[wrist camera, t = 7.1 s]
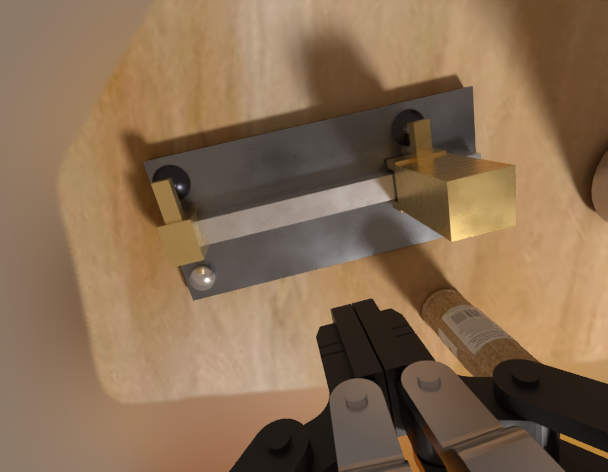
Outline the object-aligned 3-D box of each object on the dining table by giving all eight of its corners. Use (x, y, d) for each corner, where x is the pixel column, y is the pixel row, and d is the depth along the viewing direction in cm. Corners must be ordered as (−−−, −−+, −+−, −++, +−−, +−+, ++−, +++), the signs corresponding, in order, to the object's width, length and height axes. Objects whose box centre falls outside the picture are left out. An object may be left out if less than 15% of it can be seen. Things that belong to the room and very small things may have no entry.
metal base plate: (464, 87, 29) (478, 85, 27) (471, 224, 33) (484, 230, 31) (147, 160, 27) (139, 163, 25) (195, 294, 31) (191, 305, 29)
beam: (467, 106, 28) (491, 104, 25) (471, 181, 30) (493, 188, 27) (153, 179, 27) (141, 186, 24) (180, 253, 29) (171, 267, 26)
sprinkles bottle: (417, 328, 36) (507, 443, 23) (424, 287, 34) (523, 385, 21) (459, 326, 36) (569, 437, 23) (467, 286, 35) (589, 381, 22)
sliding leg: (430, 115, 28) (514, 112, 19) (437, 195, 30) (515, 228, 21) (381, 126, 27) (442, 129, 18) (392, 206, 30) (451, 244, 21)
